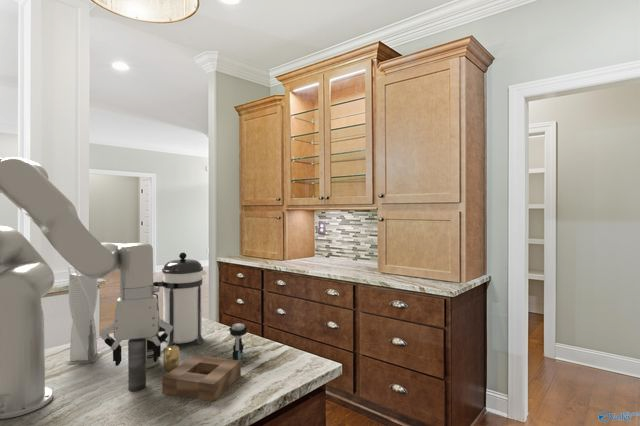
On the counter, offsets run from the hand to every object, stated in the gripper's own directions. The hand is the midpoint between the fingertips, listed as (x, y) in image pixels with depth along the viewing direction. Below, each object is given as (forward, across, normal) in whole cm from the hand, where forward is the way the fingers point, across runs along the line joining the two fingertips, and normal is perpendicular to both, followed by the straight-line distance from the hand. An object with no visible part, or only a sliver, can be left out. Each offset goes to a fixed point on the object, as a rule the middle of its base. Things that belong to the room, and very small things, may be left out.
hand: (137, 361), depth 96 cm
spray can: (+7, 0, -14) cm, 15 cm away
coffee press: (+7, -8, -29) cm, 31 cm away
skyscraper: (+7, +19, -24) cm, 31 cm away
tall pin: (+7, 0, 0) cm, 7 cm away
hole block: (+7, -16, +2) cm, 17 cm away
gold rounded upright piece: (+7, -7, -8) cm, 13 cm away
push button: (+7, -26, -13) cm, 30 cm away
